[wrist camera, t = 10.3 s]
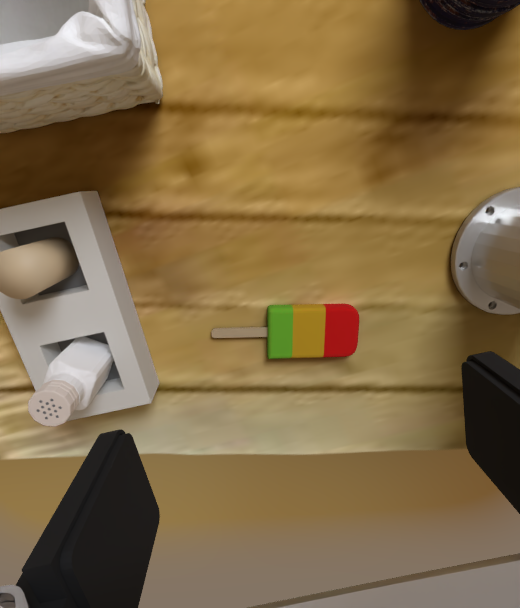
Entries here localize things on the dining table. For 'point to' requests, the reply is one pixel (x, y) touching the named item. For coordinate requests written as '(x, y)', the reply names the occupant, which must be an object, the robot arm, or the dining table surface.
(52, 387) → the pepper shaker
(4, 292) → the block
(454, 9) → the storage jar
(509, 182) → the dining table surface
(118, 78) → the storage basket
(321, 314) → the popsicle
